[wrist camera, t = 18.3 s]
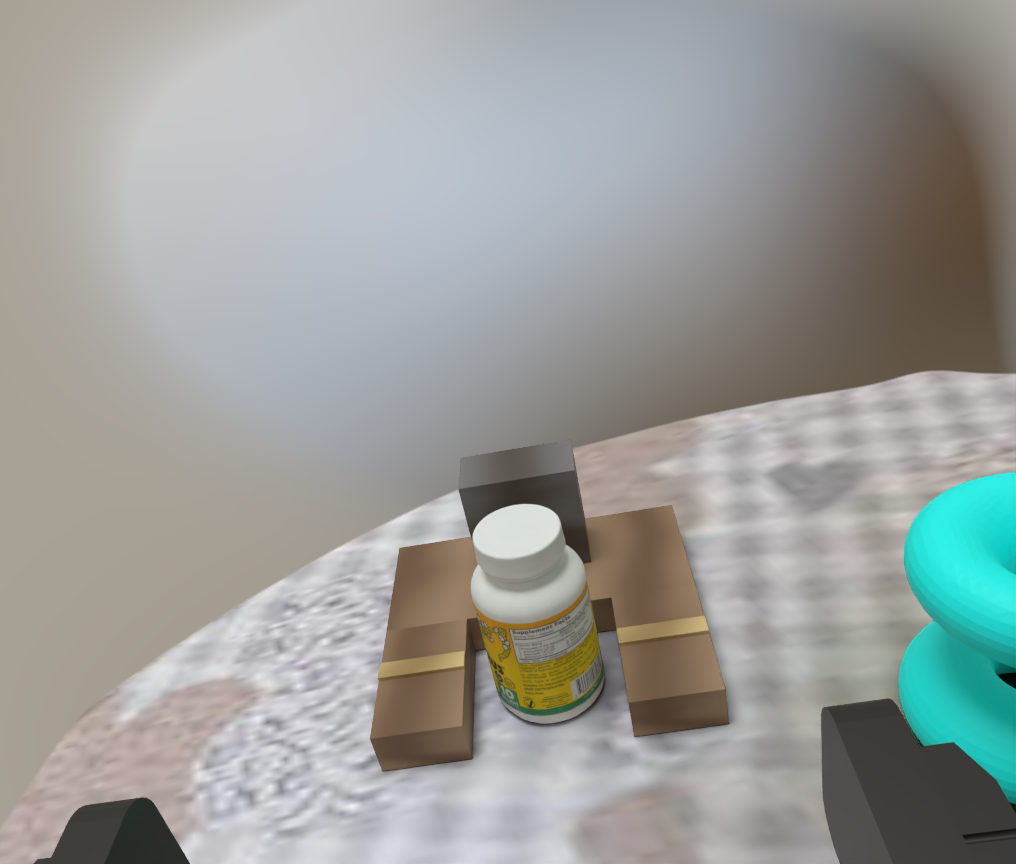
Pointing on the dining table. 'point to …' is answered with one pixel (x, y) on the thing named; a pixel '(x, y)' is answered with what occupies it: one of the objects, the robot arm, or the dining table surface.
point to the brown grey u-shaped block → (614, 597)
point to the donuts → (965, 624)
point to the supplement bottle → (535, 615)
